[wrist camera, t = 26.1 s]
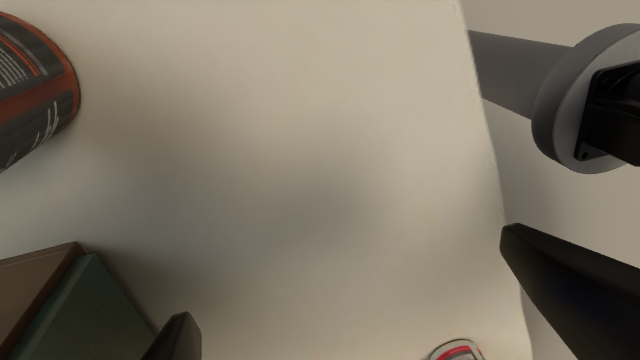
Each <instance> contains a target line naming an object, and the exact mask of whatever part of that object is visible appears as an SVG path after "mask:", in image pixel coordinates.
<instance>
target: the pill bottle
mask: <svg viewBox="0 0 640 360" xmlns="http://www.w3.org/2000/svg"><path fill="white" fill-rule="evenodd" d="M430 360H486V359H485V358H484V356H483V355H482V353H481V352H480V350H479V349H478V347H477V346H476V345H475V344H474V343H473V342H471V341H467V340H458V341H454V342H451V343H448V344H445V345H443V346H442V347H440V348H439V349H437V350H436V351H435V352H434V353H433V355H432V356H431V358H430Z"/></svg>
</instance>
